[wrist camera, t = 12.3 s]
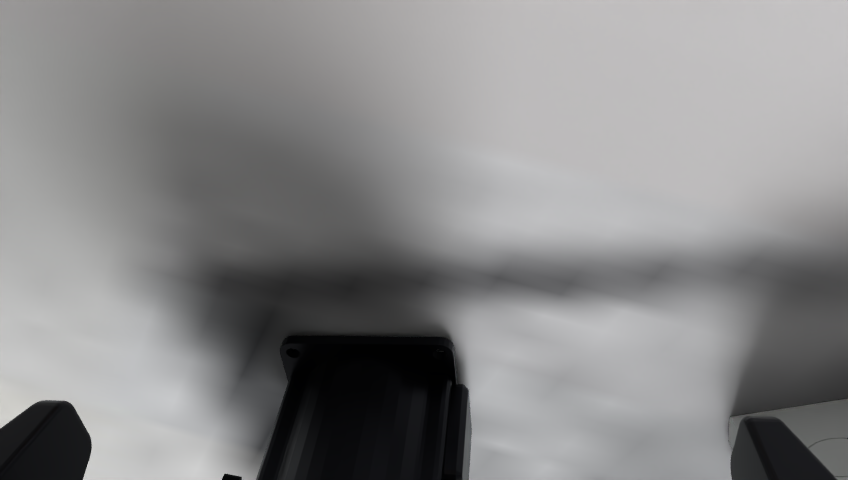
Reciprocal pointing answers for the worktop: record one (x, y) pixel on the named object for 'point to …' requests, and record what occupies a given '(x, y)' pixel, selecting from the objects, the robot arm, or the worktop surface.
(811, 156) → the worktop surface
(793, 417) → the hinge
